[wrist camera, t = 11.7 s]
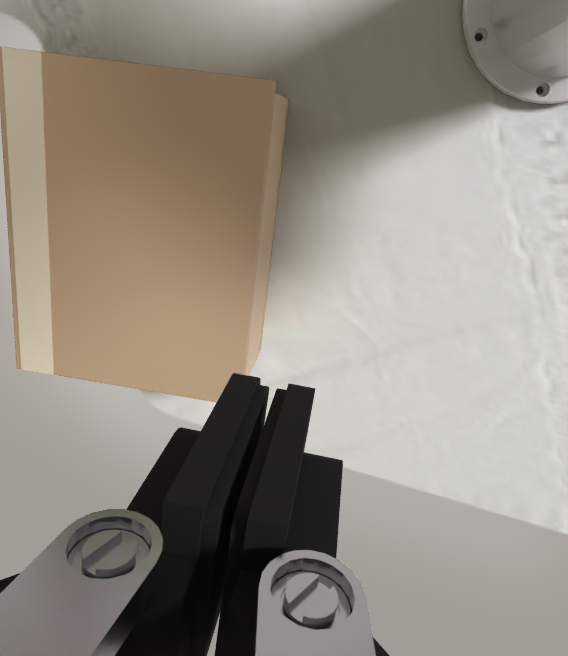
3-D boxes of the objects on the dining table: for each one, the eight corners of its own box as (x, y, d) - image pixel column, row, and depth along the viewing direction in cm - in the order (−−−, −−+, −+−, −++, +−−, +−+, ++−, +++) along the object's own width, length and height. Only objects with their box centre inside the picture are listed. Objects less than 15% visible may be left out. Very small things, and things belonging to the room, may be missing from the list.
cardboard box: (80, 73, 40) (16, 59, 32) (289, 99, 39) (272, 91, 31) (83, 321, 47) (31, 356, 40) (260, 350, 46) (241, 391, 38)
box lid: (6, 48, 32) (-5, 45, 31) (276, 82, 31) (273, 80, 30) (24, 362, 39) (16, 368, 38) (242, 399, 38) (239, 407, 37)
